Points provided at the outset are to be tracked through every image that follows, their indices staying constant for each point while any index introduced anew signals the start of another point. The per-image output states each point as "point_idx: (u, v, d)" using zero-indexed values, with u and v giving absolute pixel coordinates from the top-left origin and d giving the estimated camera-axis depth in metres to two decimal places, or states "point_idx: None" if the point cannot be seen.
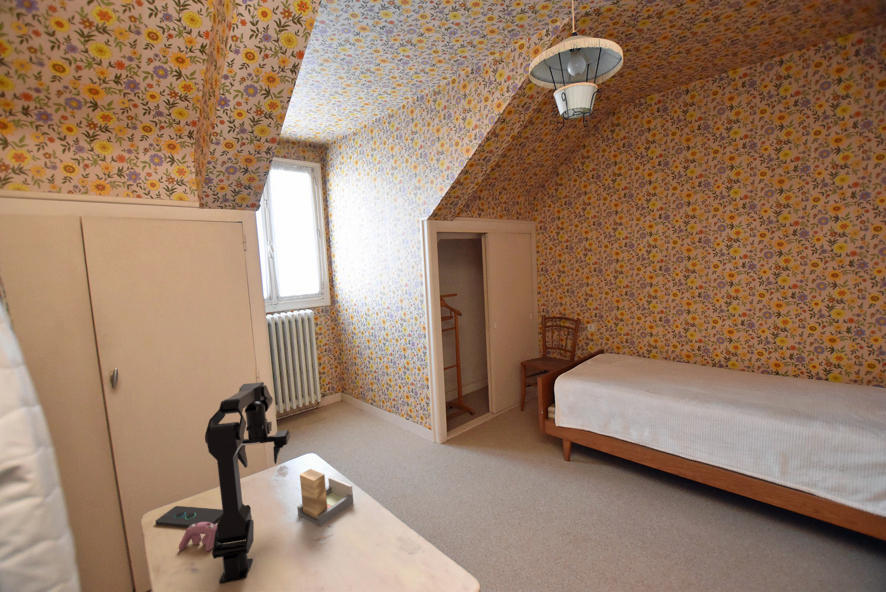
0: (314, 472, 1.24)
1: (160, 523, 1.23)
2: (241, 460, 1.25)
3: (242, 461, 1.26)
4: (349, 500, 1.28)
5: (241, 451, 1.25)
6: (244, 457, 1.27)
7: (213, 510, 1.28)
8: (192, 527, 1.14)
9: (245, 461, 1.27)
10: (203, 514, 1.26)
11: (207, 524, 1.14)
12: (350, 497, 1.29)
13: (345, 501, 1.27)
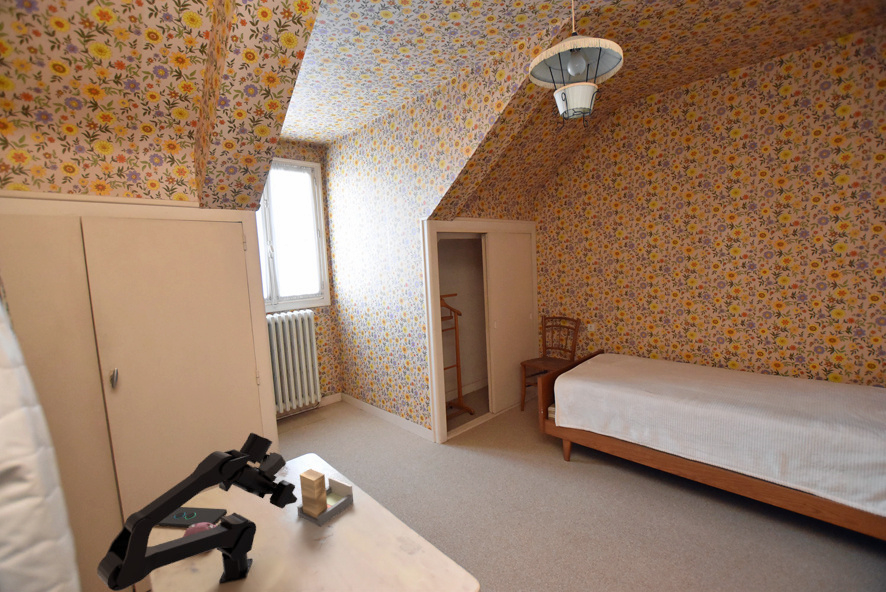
0: (314, 472, 1.24)
1: (160, 524, 1.23)
2: None
3: None
4: (349, 500, 1.28)
5: None
6: None
7: (213, 510, 1.28)
8: (192, 528, 1.14)
9: (271, 491, 1.16)
10: (203, 514, 1.26)
11: (207, 524, 1.14)
12: (350, 497, 1.29)
13: (345, 501, 1.27)
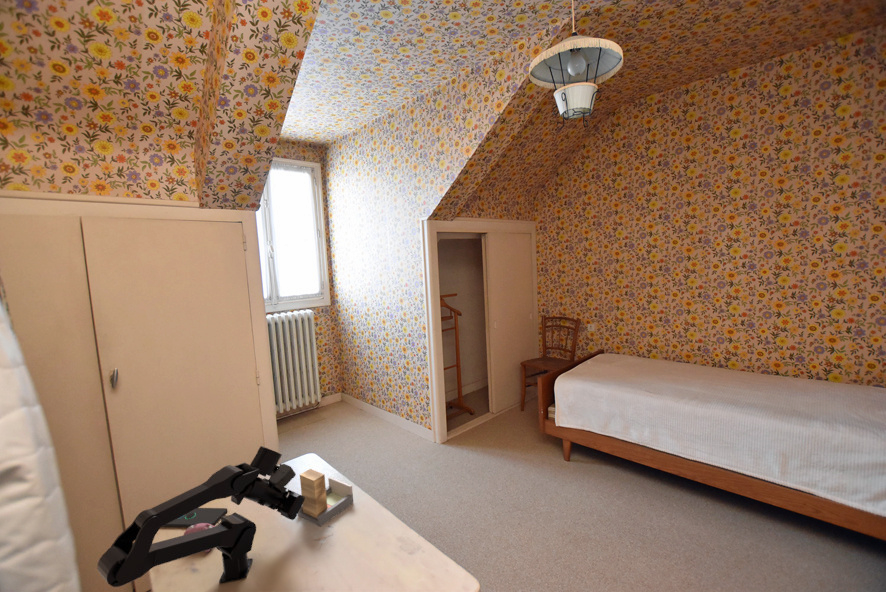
0: (314, 472, 1.24)
1: None
2: None
3: None
4: (349, 500, 1.28)
5: None
6: None
7: (213, 509, 1.28)
8: (191, 528, 1.13)
9: None
10: (204, 513, 1.26)
11: (206, 525, 1.14)
12: (350, 497, 1.29)
13: (345, 501, 1.27)
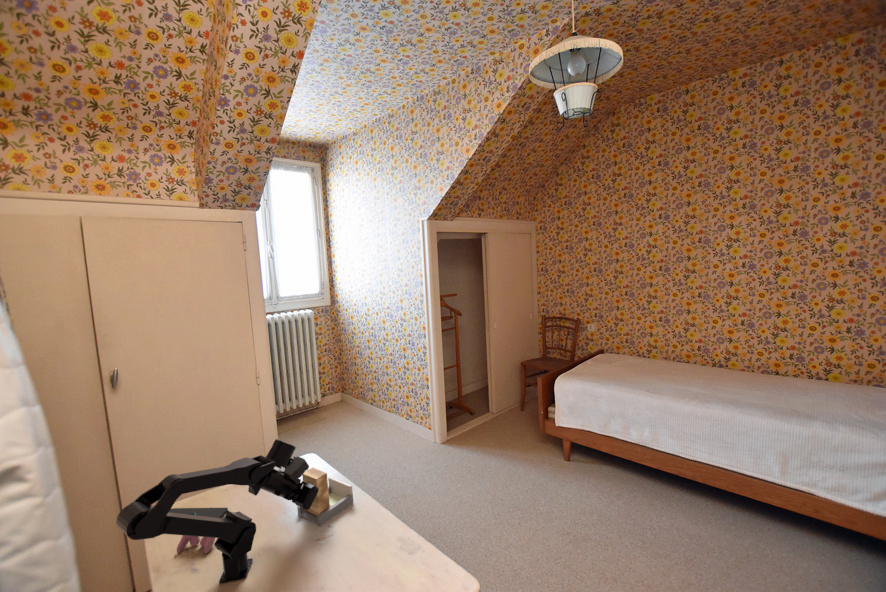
0: (317, 470, 1.24)
1: None
2: None
3: None
4: (349, 500, 1.28)
5: None
6: None
7: (214, 509, 1.28)
8: None
9: None
10: (204, 513, 1.26)
11: None
12: (350, 497, 1.29)
13: (345, 501, 1.27)
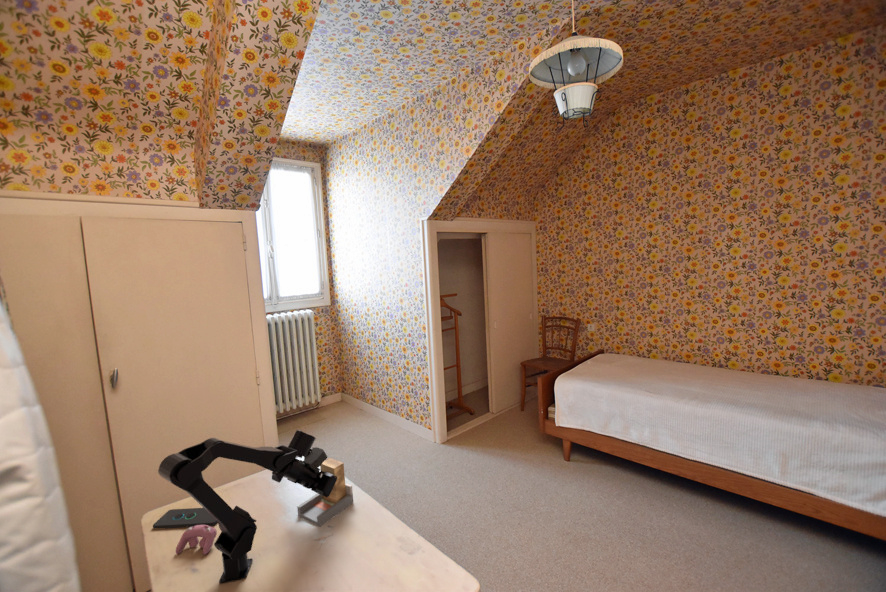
0: (334, 460, 1.30)
1: (159, 526, 1.22)
2: None
3: None
4: (349, 500, 1.28)
5: None
6: None
7: None
8: (189, 530, 1.12)
9: None
10: (204, 513, 1.26)
11: (204, 527, 1.13)
12: (350, 497, 1.29)
13: (345, 501, 1.27)
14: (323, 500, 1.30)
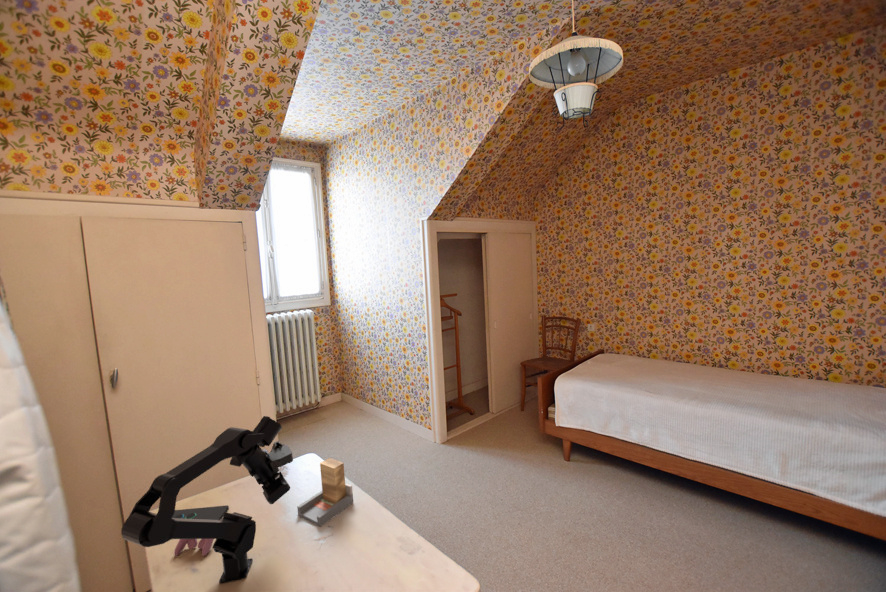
0: (334, 460, 1.30)
1: None
2: None
3: None
4: (349, 500, 1.28)
5: None
6: None
7: (214, 507, 1.29)
8: None
9: None
10: (205, 512, 1.27)
11: None
12: (350, 497, 1.29)
13: (345, 501, 1.27)
14: (323, 500, 1.30)
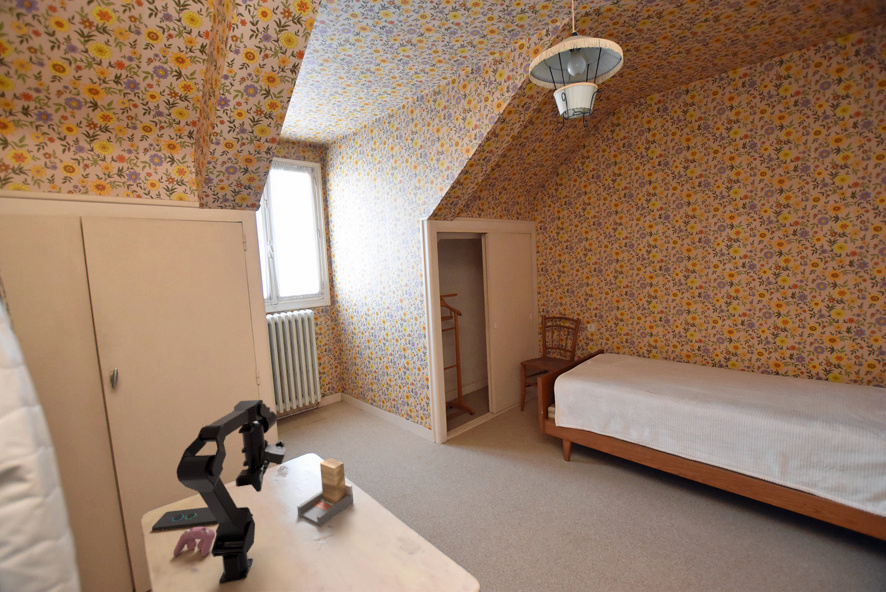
0: (334, 460, 1.30)
1: (158, 528, 1.21)
2: None
3: None
4: (349, 500, 1.28)
5: None
6: None
7: None
8: (187, 532, 1.12)
9: None
10: (205, 512, 1.27)
11: (202, 529, 1.12)
12: (350, 497, 1.29)
13: (345, 501, 1.27)
14: (323, 500, 1.30)
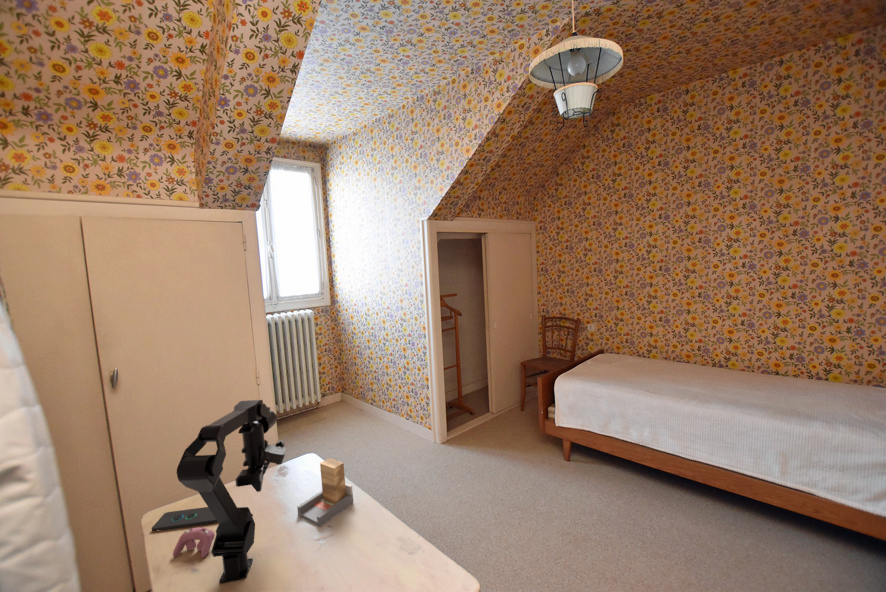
0: (334, 460, 1.30)
1: (159, 528, 1.20)
2: None
3: None
4: (349, 500, 1.28)
5: None
6: None
7: None
8: (186, 533, 1.11)
9: None
10: (205, 512, 1.27)
11: (202, 530, 1.12)
12: (350, 497, 1.29)
13: (345, 501, 1.27)
14: (323, 500, 1.30)
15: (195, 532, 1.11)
